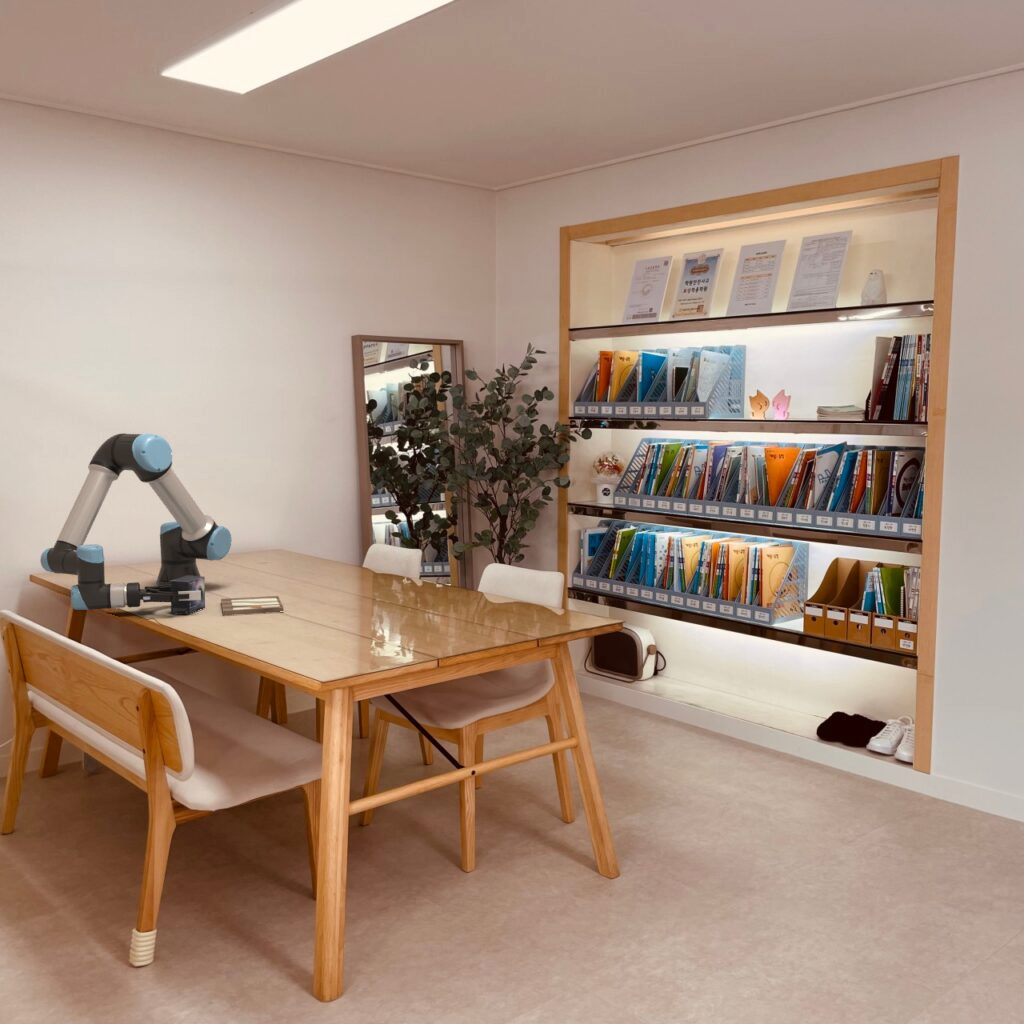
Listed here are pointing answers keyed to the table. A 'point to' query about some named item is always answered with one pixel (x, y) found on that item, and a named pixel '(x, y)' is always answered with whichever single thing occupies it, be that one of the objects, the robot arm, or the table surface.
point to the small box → (188, 585)
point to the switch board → (251, 605)
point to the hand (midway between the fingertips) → (200, 591)
